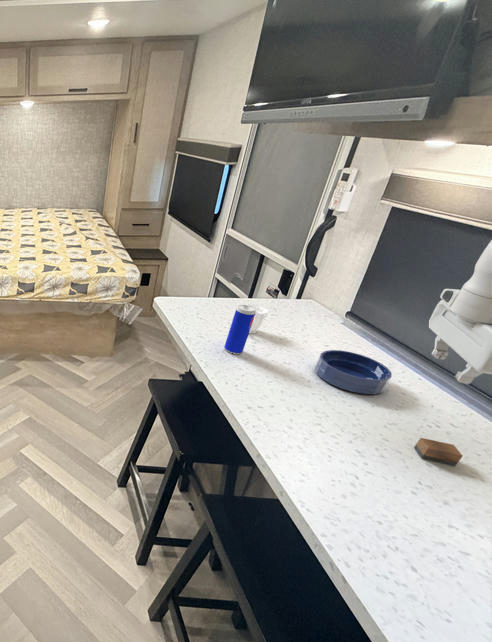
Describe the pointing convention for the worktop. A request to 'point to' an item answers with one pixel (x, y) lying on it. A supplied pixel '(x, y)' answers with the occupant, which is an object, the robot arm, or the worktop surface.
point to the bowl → (352, 372)
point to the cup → (258, 318)
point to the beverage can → (240, 329)
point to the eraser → (438, 451)
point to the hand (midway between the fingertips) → (448, 369)
